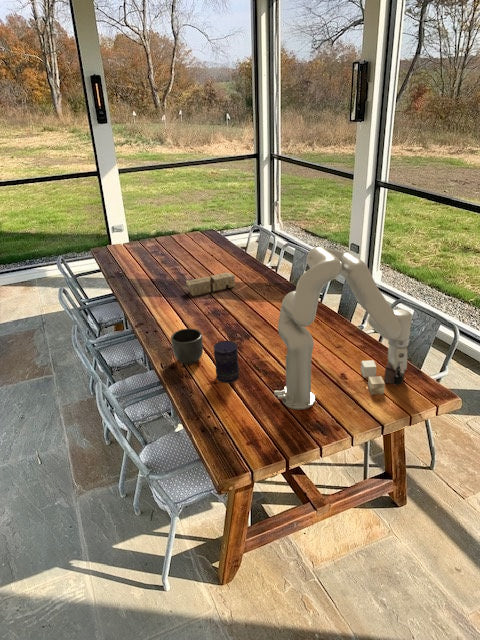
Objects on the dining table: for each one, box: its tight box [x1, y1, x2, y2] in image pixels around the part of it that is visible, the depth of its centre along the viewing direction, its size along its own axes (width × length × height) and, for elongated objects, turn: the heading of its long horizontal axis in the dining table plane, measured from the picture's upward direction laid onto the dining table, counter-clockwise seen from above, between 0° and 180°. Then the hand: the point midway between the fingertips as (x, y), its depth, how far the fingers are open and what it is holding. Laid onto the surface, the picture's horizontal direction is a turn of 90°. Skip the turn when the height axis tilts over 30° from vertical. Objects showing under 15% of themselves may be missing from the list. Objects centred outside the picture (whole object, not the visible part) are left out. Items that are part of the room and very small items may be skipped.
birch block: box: [367, 375, 386, 395], centre depth 182 cm, size 5×5×5 cm
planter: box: [170, 328, 204, 366], centre depth 209 cm, size 14×14×13 cm
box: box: [383, 362, 406, 387], centre depth 187 cm, size 6×6×7 cm
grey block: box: [360, 359, 377, 378], centre depth 193 cm, size 5×5×5 cm
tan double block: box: [185, 272, 236, 297], centre depth 284 cm, size 8×8×29 cm
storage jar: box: [213, 340, 240, 384], centre depth 195 cm, size 10×10×15 cm
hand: (394, 377), depth 188 cm, fingers closed on box, 8 cm apart
